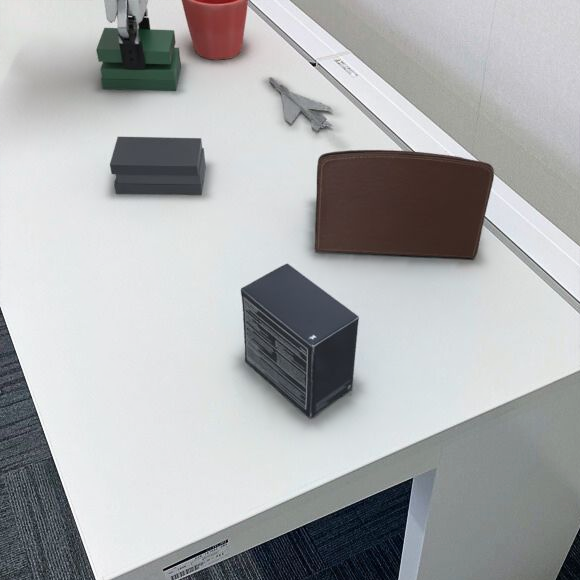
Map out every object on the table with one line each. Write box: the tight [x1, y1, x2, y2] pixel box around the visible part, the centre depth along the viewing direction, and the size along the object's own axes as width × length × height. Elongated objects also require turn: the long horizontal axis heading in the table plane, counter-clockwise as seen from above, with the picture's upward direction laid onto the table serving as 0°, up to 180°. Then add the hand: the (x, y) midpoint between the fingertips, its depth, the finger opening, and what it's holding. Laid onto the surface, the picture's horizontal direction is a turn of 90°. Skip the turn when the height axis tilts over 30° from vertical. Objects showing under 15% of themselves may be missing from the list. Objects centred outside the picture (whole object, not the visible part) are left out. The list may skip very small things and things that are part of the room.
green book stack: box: [100, 46, 182, 92], centre depth 118 cm, size 11×8×3 cm
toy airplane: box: [268, 76, 335, 138], centre depth 114 cm, size 8×21×2 cm, turn 33°
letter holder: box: [314, 149, 495, 260], centre depth 92 cm, size 10×20×14 cm, turn 90°
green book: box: [96, 27, 176, 64], centre depth 116 cm, size 10×7×2 cm, turn 93°
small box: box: [240, 263, 360, 419], centre depth 76 cm, size 11×6×10 cm, turn 44°
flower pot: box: [181, 0, 249, 61], centre depth 124 cm, size 11×11×10 cm
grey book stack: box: [109, 136, 207, 196], centre depth 100 cm, size 11×6×4 cm, turn 93°
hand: (137, 54), depth 117 cm, fingers closed on green book, 7 cm apart
